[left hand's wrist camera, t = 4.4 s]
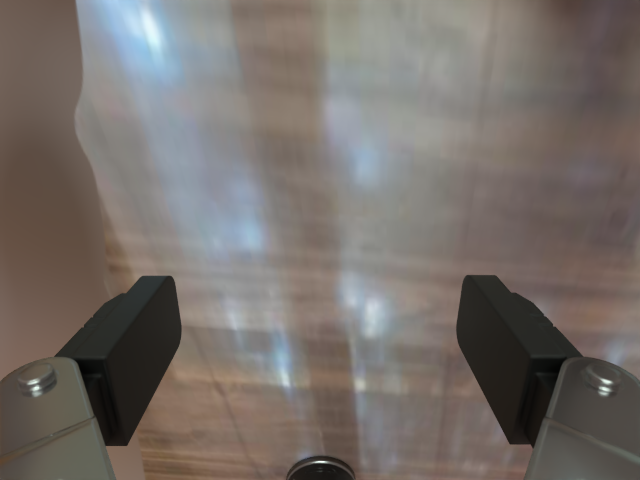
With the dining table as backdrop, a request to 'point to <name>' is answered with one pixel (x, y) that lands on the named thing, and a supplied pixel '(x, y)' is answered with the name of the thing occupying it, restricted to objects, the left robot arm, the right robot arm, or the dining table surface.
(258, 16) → the dining table surface
